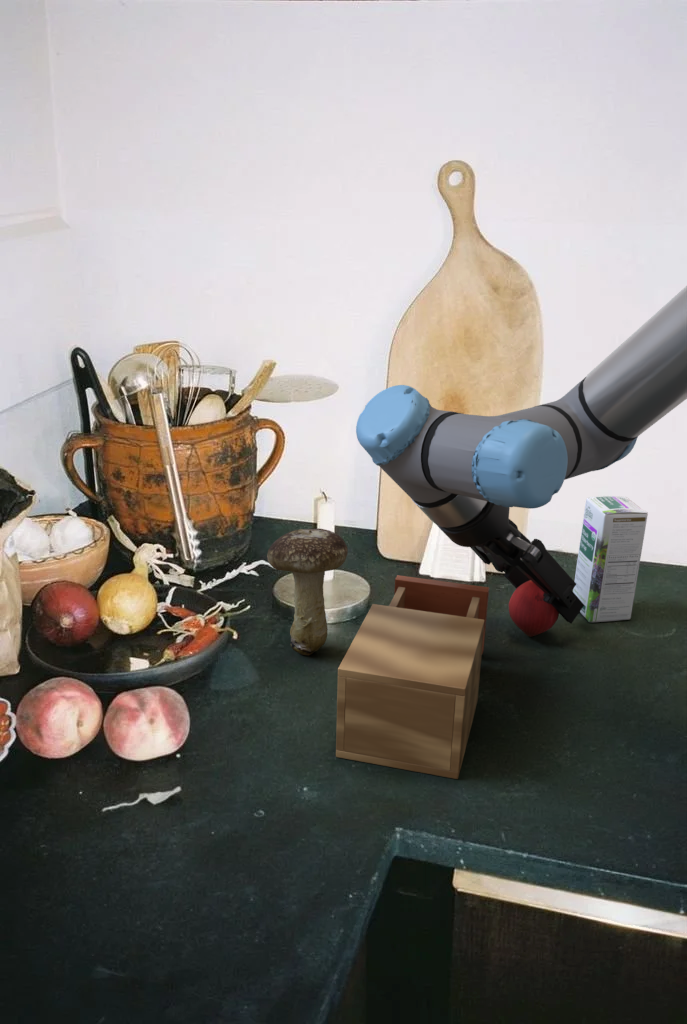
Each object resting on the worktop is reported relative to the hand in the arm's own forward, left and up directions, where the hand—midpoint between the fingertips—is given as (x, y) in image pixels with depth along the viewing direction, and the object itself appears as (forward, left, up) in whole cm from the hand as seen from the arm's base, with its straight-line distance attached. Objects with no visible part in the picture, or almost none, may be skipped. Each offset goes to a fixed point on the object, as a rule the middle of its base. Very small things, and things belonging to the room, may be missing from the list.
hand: (555, 602), depth 112 cm
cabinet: (+12, +26, -3) cm, 29 cm away
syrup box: (-6, -6, -4) cm, 9 cm away
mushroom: (+26, +15, -4) cm, 30 cm away
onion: (+2, +3, -4) cm, 5 cm away
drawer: (+12, +13, -2) cm, 18 cm away
